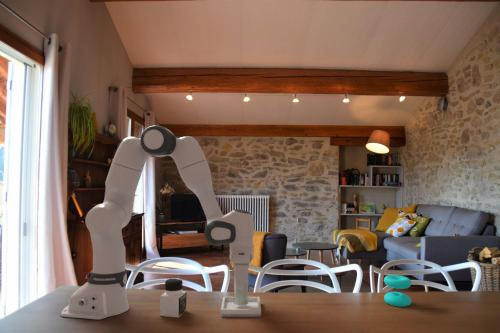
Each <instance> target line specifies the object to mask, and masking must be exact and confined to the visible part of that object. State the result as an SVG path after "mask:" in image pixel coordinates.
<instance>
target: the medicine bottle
mask: <svg viewBox="0 0 500 333" xmlns="http://www.w3.org/2000/svg"><path fill="white" fill-rule="evenodd" d="M159 301H160V302H159V303H160V304H159V306H160V308H159V316H160V317H166V318H167V317H168V318H177V319H178V318H180V317H182V315H183V314H184V313H186V311H187V291H186V290H183V280H182V279H181V278H177V277H173V278H168V279H167V280H165V282H164V293H162V294H161V295H160V299H159Z"/></svg>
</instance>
